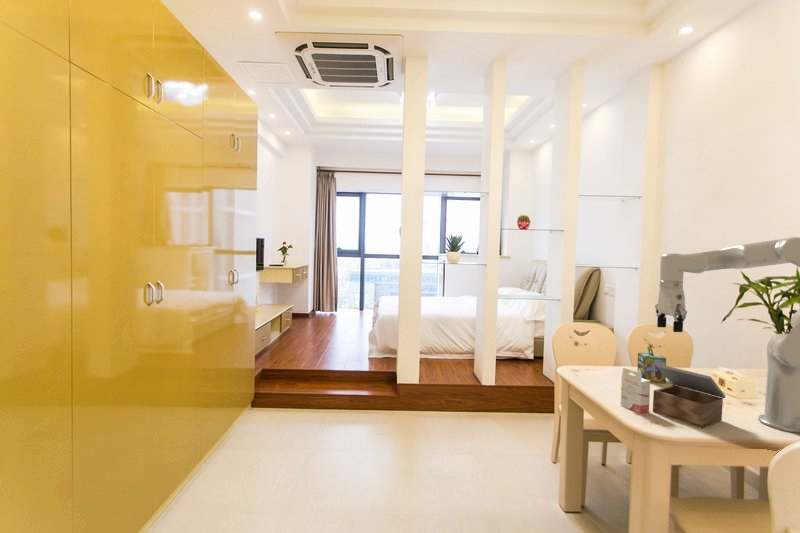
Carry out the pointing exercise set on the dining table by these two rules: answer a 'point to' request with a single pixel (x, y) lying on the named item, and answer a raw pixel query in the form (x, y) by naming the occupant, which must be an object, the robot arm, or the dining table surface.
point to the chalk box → (651, 366)
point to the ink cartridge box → (635, 391)
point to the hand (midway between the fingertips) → (669, 329)
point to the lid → (691, 380)
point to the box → (688, 406)
